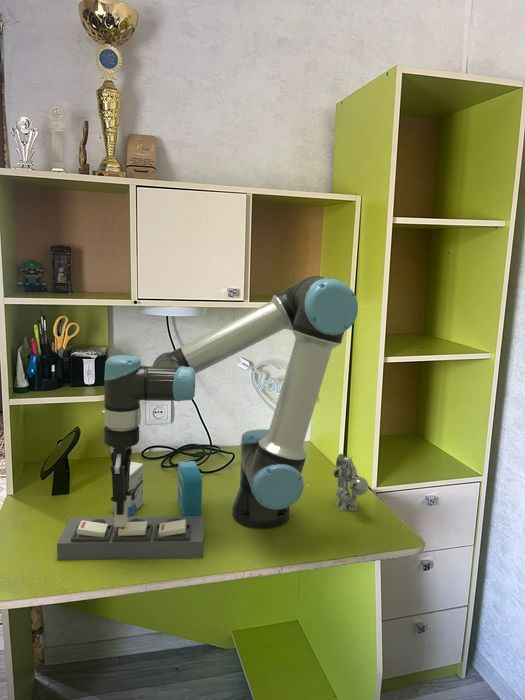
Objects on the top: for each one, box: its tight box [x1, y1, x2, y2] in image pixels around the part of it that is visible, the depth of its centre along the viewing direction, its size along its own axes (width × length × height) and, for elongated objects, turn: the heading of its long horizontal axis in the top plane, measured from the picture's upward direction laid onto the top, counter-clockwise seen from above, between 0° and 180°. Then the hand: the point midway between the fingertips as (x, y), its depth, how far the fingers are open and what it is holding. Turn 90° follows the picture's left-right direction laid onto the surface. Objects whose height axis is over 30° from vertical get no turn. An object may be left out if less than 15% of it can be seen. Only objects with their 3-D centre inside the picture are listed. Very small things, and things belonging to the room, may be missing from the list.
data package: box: [177, 460, 203, 516], centre depth 146 cm, size 12×4×12 cm, turn 17°
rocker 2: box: [158, 519, 187, 537], centre depth 127 cm, size 6×4×1 cm, turn 95°
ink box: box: [126, 461, 144, 517], centre depth 146 cm, size 8×5×12 cm, turn 168°
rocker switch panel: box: [56, 515, 205, 561], centre depth 129 cm, size 32×12×5 cm, turn 95°
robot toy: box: [333, 453, 369, 512], centre depth 150 cm, size 15×6×15 cm, turn 17°
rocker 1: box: [77, 520, 108, 538], centre depth 125 cm, size 6×4×1 cm, turn 95°
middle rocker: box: [118, 521, 147, 536], centre depth 126 cm, size 6×4×1 cm, turn 95°
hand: (120, 524), depth 126 cm, fingers closed
